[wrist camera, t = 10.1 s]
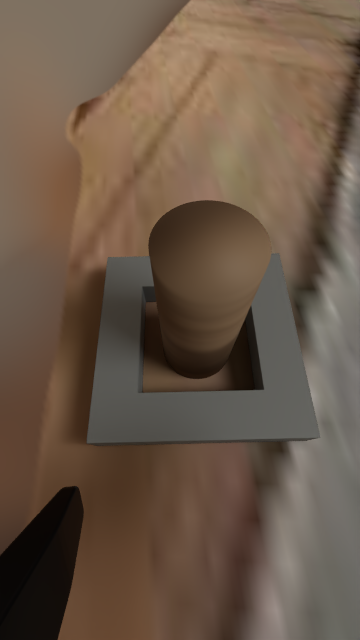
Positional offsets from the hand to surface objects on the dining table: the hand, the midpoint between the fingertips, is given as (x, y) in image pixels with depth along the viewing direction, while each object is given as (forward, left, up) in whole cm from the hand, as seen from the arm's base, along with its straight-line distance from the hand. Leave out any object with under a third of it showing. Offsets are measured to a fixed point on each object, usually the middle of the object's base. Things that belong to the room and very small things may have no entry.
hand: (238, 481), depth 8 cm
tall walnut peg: (+8, +1, -9) cm, 12 cm away
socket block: (+8, +1, -9) cm, 12 cm away
